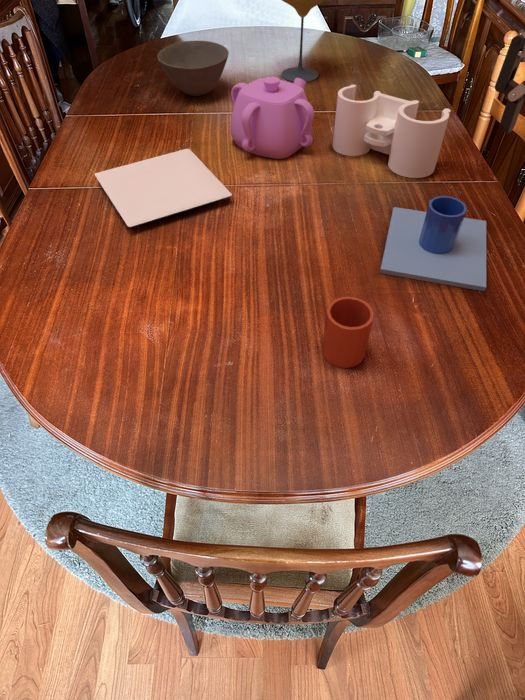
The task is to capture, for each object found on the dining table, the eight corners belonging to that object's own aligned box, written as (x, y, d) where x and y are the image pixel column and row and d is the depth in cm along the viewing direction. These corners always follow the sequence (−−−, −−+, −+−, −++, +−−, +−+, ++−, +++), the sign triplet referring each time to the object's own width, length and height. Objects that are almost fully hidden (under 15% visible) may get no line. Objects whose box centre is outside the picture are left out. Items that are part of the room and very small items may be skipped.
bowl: (174, 76, 148) (169, 38, 141) (237, 81, 146) (235, 42, 138) (153, 104, 136) (146, 64, 129) (220, 109, 134) (218, 69, 126)
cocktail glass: (282, 59, 156) (284, -41, 137) (338, 68, 151) (349, -35, 132) (259, 82, 145) (258, -24, 126) (318, 92, 140) (327, -16, 122)
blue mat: (484, 225, 100) (486, 220, 99) (484, 291, 87) (486, 287, 86) (392, 211, 103) (393, 206, 102) (379, 273, 91) (380, 268, 90)
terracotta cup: (367, 340, 80) (376, 301, 74) (361, 372, 76) (370, 333, 69) (326, 332, 81) (331, 293, 75) (318, 362, 77) (322, 324, 71)
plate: (233, 203, 105) (232, 194, 104) (130, 235, 98) (128, 226, 97) (189, 155, 118) (188, 147, 117) (96, 181, 111) (93, 172, 110)
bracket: (324, 150, 119) (328, 97, 110) (344, 134, 125) (350, 82, 115) (422, 183, 110) (436, 128, 101) (440, 164, 115) (455, 110, 106)
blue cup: (454, 236, 96) (467, 199, 90) (453, 256, 92) (466, 219, 86) (420, 230, 97) (430, 193, 91) (417, 250, 93) (427, 213, 87)
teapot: (233, 163, 116) (230, 99, 105) (229, 121, 129) (226, 60, 118) (316, 159, 117) (321, 95, 106) (303, 118, 130) (306, 57, 119)
